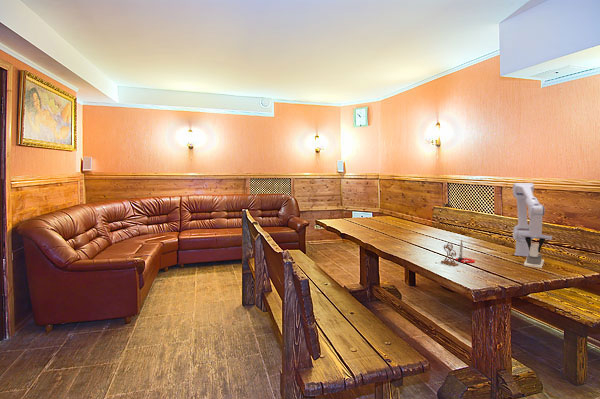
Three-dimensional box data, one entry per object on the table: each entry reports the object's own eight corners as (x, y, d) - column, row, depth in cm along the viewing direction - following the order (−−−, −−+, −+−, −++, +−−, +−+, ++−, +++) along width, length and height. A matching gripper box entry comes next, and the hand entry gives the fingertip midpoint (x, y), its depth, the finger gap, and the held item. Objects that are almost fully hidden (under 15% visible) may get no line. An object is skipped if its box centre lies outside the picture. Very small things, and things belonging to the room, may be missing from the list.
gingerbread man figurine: (458, 265, 181) (459, 244, 180) (453, 266, 179) (454, 245, 178) (445, 261, 189) (445, 241, 188) (440, 262, 187) (440, 242, 186)
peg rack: (526, 259, 190) (527, 252, 190) (543, 261, 185) (544, 254, 184) (523, 265, 178) (524, 258, 177) (542, 268, 173) (542, 260, 172)
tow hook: (467, 259, 194) (454, 260, 192) (468, 238, 193) (455, 238, 191) (478, 263, 186) (464, 264, 183) (479, 241, 185) (466, 241, 182)
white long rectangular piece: (531, 251, 186) (531, 242, 186) (539, 252, 184) (539, 243, 184) (529, 256, 177) (529, 247, 177) (537, 257, 175) (537, 247, 175)
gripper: (518, 226, 181) (518, 250, 182) (551, 229, 172) (550, 254, 173) (520, 225, 186) (519, 248, 188) (552, 227, 177) (551, 252, 178)
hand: (534, 251), depth 181 cm, fingers closed on white long rectangular piece, 3 cm apart
